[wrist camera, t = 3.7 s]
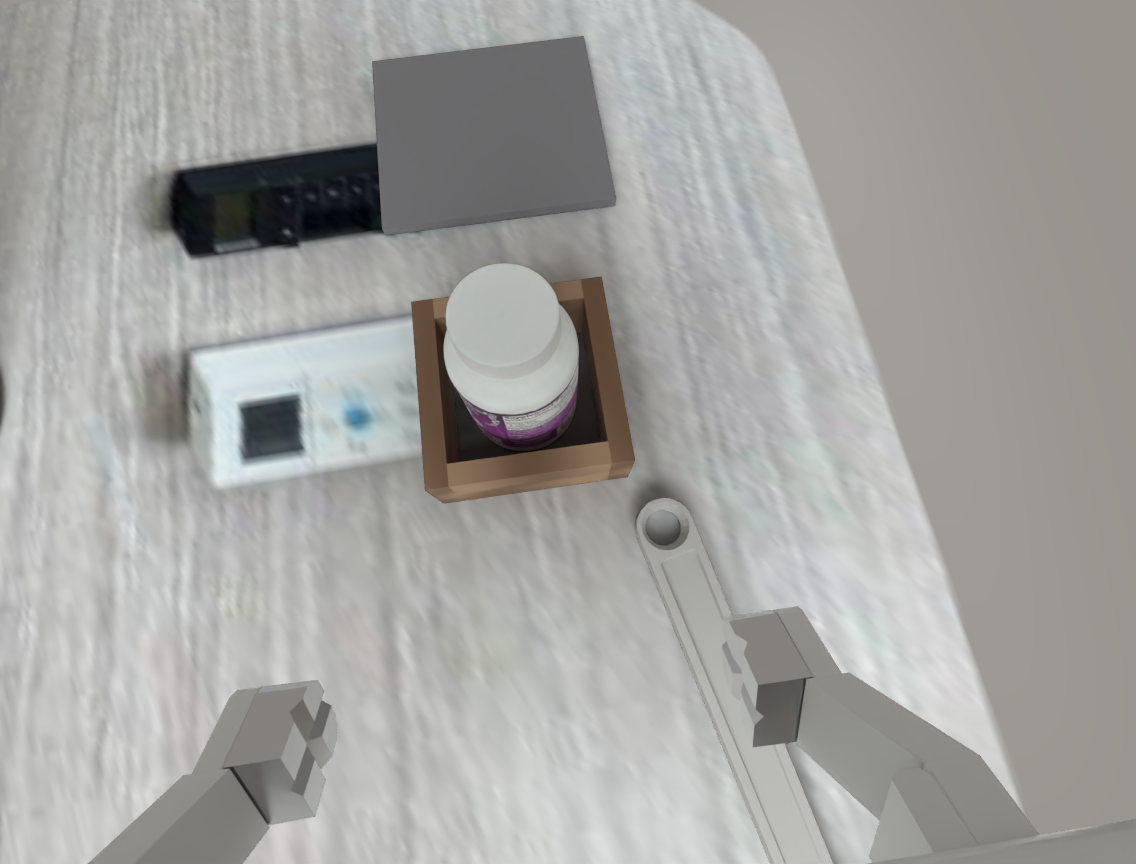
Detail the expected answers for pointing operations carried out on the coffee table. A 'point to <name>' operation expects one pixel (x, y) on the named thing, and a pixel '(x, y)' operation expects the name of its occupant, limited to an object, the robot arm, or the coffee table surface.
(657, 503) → the adjustable wrench
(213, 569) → the coffee table surface
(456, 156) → the charcoal mat
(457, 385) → the pill bottle
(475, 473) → the walnut collar
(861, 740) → the robot arm
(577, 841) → the coffee table surface
